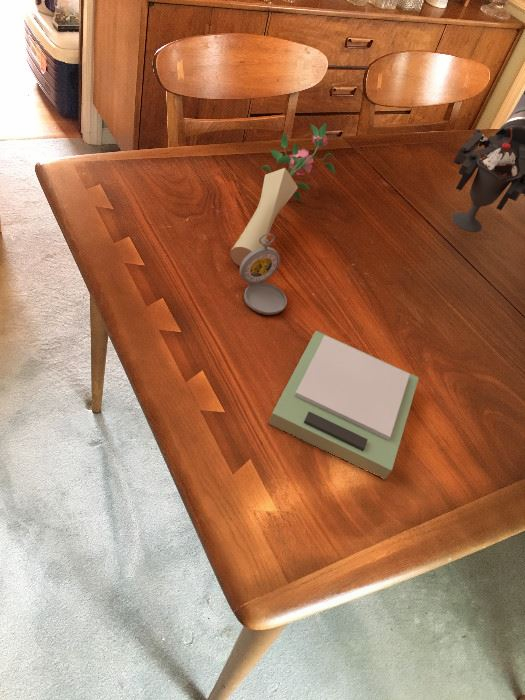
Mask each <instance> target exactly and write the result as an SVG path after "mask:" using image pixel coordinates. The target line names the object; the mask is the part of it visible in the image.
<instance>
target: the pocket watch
mask: <svg viewBox="0 0 525 700" xmlns="http://www.w3.org/2000/svg"><path fill="white" fill-rule="evenodd" d="M266 235H268V236H270V237H272V239H271V241H270V240H269V239H267V240H266V242H263V243H262V242H261V239H262V237H264V236H266ZM274 241H275V235H273V233H269V234H264V235H263V236H261V237H260V239H259V242H260V244H262V245H263V246H264V247H261V248H258V249H256V250H254V251H252V252H251V253H249V254H248V255H247V256H246V257H245V258H244V260H243V261H242V263H241V265H240V266H239V276H240V278H241V279H242V280H243V281H244V282H245V283H247V284H249V285H248V286H247V287H246V288H245V289H244V294H243V299H244V302H245V304H246V305H247V307H249V308H250V309H251V310H252V311H254V312H256V313H258V314H262V315H266V316H267V315H268V316H271V315H277V314H279V313H281V312H283V311H284V309H285V308H286V306H287V304H288V299H287V296H286V294H285V292H284V291H283V290H282V289H280V287H278V286H276V285H274V284H272V283H269V282H265V281H266V280H268V279H269V278H271V277H272V276H273V275H274V274H275V273H276V272H277V270H278V269H279V267H280V264H281V256H280V254H279V251H277V250H276V249H275V248H273V247H271V246H270V245H271V244H272V243H273V242H274ZM269 246H270V247H269Z"/></svg>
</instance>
